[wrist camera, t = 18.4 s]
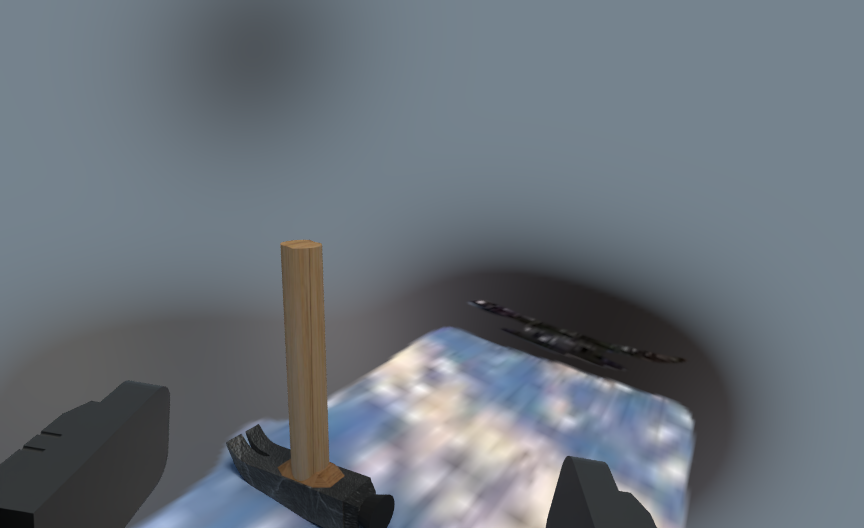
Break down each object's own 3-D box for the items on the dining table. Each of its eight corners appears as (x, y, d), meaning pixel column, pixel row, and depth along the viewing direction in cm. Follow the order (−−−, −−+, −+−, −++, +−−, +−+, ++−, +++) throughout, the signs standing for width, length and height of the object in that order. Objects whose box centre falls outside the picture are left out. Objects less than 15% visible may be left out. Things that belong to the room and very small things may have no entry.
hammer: (229, 488, 65) (210, 237, 59) (261, 468, 69) (247, 232, 63) (368, 548, 55) (363, 256, 49) (395, 520, 60) (393, 248, 54)
